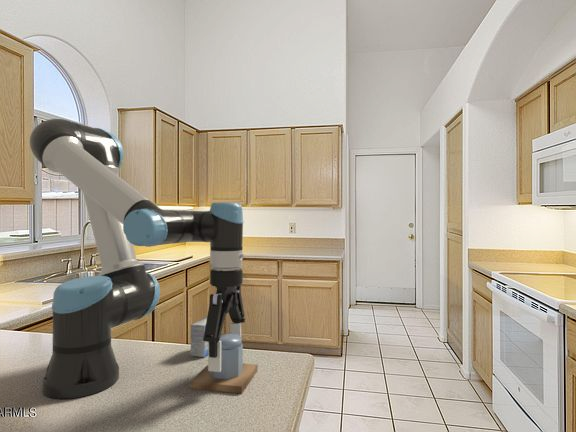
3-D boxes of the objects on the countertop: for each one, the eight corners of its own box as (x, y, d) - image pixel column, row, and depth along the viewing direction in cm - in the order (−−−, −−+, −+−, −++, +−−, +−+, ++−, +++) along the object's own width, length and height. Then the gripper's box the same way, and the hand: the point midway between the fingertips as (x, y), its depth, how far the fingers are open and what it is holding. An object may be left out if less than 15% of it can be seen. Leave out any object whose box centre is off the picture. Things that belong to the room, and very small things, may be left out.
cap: (206, 377, 83) (206, 342, 83) (218, 365, 90) (218, 332, 90) (235, 380, 82) (235, 344, 82) (245, 367, 89) (245, 334, 89)
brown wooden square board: (190, 388, 81) (190, 361, 81) (212, 366, 93) (212, 343, 93) (241, 393, 79) (242, 366, 79) (257, 370, 91) (257, 346, 91)
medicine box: (204, 358, 99) (204, 325, 99) (190, 356, 100) (190, 324, 100) (219, 348, 106) (219, 318, 106) (205, 346, 108) (205, 316, 108)
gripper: (221, 277, 73) (221, 384, 73) (256, 262, 97) (256, 342, 97) (187, 275, 75) (186, 380, 75) (230, 261, 99) (229, 340, 99)
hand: (225, 359), depth 86 cm, fingers open, 12 cm apart
